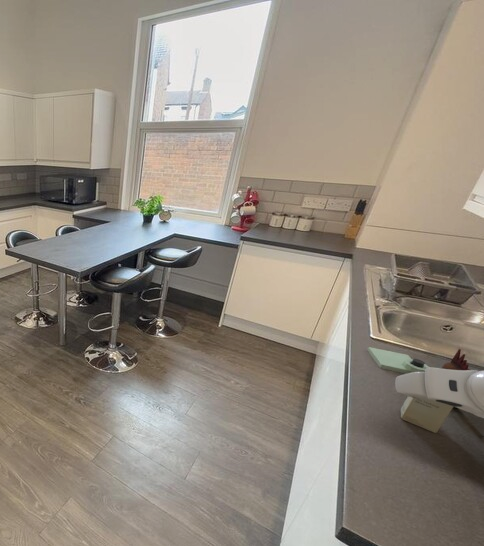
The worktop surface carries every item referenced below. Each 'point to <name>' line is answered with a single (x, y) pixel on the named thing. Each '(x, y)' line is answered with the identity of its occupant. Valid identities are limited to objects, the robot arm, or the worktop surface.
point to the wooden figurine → (457, 362)
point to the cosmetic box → (425, 413)
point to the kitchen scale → (394, 361)
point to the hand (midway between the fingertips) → (437, 399)
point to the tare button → (417, 363)
